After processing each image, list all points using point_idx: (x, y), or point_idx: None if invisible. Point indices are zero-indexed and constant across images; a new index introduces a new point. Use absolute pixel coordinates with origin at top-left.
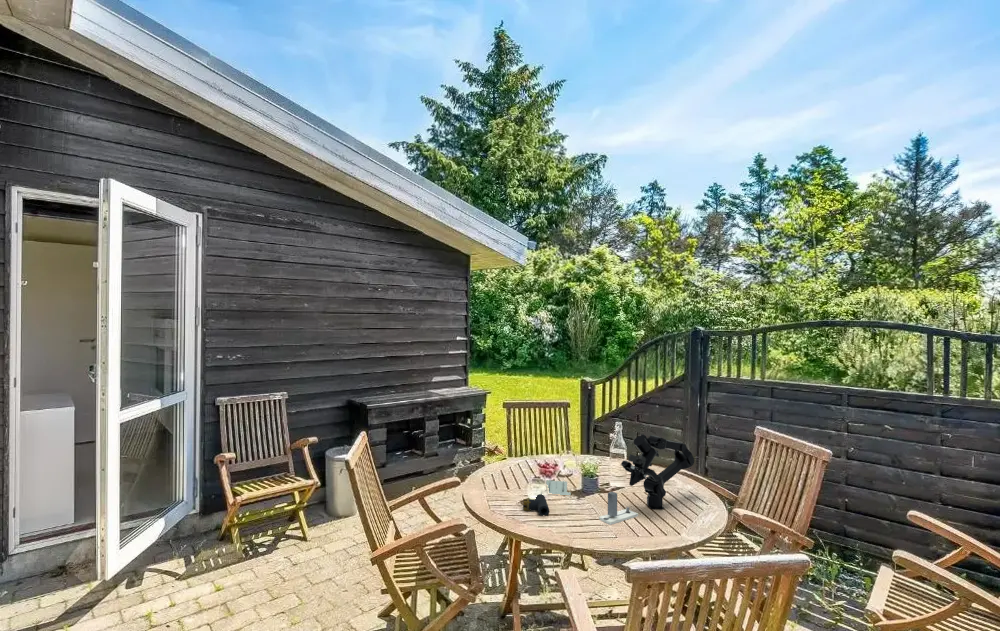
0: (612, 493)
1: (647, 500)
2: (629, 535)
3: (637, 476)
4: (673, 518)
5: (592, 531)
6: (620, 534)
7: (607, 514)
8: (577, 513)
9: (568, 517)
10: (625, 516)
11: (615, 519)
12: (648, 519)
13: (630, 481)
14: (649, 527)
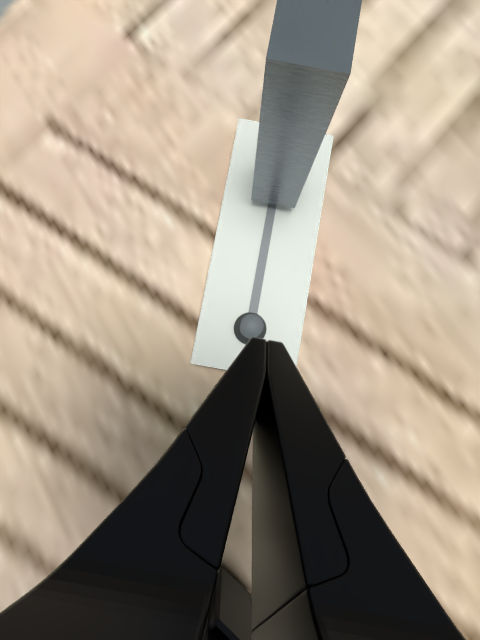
0: (308, 20)
1: (239, 612)
2: (88, 96)
3: (107, 553)
4: (5, 516)
5: (254, 2)
6: (130, 73)
7: (320, 201)
8: (465, 126)
9: (457, 48)
10: (223, 259)
11: (240, 174)
12: (120, 369)
13: (283, 377)
14: (57, 266)
